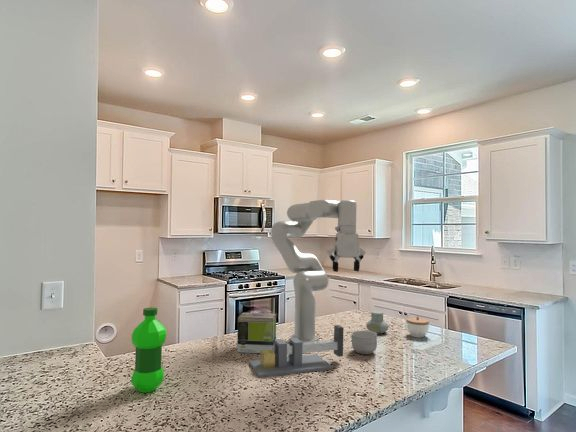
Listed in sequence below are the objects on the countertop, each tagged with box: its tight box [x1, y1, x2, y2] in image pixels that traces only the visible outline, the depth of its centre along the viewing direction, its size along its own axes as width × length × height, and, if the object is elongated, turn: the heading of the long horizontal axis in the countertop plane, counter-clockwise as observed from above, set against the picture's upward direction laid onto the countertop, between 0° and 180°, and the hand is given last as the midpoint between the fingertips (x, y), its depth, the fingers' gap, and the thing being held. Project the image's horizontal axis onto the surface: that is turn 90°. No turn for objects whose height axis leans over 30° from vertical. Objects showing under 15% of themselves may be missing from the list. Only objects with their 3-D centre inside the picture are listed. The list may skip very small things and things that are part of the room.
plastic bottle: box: [130, 306, 167, 393], centre depth 120 cm, size 10×10×25 cm
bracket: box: [248, 337, 333, 378], centre depth 142 cm, size 14×28×10 cm, turn 110°
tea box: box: [236, 312, 277, 354], centre depth 161 cm, size 15×10×15 cm, turn 84°
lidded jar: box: [405, 316, 430, 338], centre depth 188 cm, size 11×11×9 cm
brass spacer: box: [259, 350, 275, 369], centre depth 139 cm, size 5×5×4 cm
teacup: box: [350, 329, 378, 355], centre depth 162 cm, size 14×11×8 cm
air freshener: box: [365, 310, 389, 335], centre depth 193 cm, size 11×8×10 cm
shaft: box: [287, 324, 344, 357], centre depth 145 cm, size 4×24×11 cm, turn 110°
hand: (346, 271), depth 158 cm, fingers open, 9 cm apart
